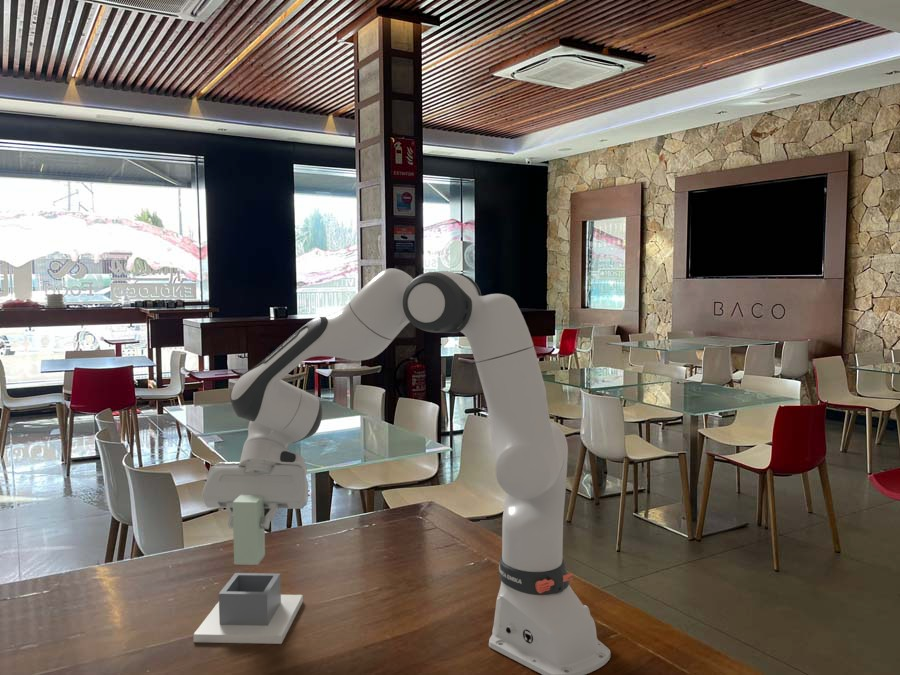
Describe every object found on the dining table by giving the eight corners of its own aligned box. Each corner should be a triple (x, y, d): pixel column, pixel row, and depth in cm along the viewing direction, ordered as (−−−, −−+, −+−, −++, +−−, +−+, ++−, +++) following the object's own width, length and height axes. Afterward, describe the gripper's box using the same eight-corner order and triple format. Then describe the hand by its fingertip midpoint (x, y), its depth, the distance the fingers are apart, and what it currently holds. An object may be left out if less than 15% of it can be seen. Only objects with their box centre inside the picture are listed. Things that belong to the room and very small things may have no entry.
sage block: (242, 554, 134) (240, 494, 132) (265, 555, 133) (263, 494, 132) (234, 564, 129) (232, 502, 128) (257, 564, 129) (256, 502, 128)
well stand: (224, 600, 140) (223, 565, 140) (302, 602, 140) (302, 566, 139) (193, 642, 125) (192, 602, 124) (281, 643, 124) (280, 603, 123)
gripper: (207, 454, 137) (188, 519, 128) (309, 455, 136) (297, 521, 127) (215, 469, 142) (198, 533, 133) (314, 471, 141) (304, 535, 132)
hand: (248, 527), depth 130 cm, fingers closed on sage block, 4 cm apart
